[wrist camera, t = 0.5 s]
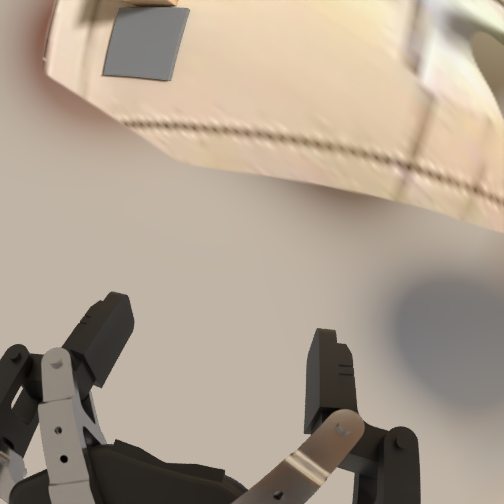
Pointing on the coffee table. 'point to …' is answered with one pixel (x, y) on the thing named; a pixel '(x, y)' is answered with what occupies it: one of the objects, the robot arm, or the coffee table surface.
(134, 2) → the oak block
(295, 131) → the coffee table surface
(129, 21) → the rubber pad
